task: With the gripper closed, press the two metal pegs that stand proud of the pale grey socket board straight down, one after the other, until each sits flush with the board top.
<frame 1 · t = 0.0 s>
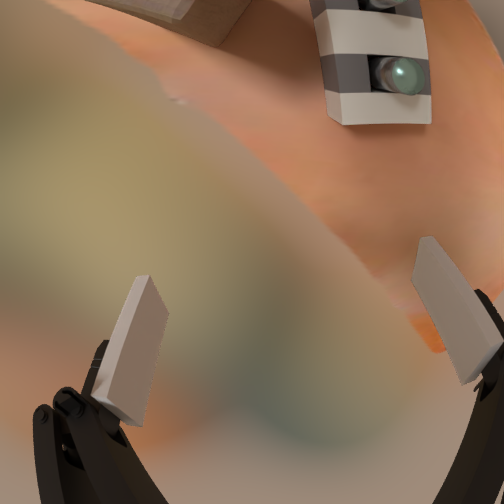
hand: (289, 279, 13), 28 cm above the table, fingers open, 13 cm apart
peg b: (393, 74, 23), point 9 cm above the table, slide at 5.0 cm
socket board: (360, 38, 27), on the table
wooden block: (204, 5, 25), on the table
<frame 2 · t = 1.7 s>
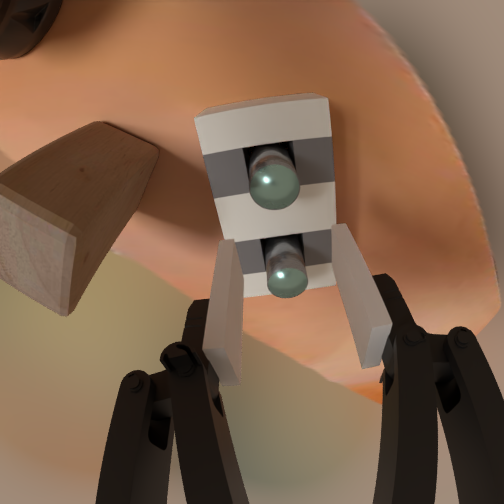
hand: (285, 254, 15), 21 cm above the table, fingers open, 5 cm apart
peg b: (284, 261, 30), point 9 cm above the table, slide at 5.0 cm
socket board: (273, 186, 34), on the table
peg a: (272, 172, 25), point 9 cm above the table, slide at 5.0 cm
wooden block: (117, 165, 33), on the table
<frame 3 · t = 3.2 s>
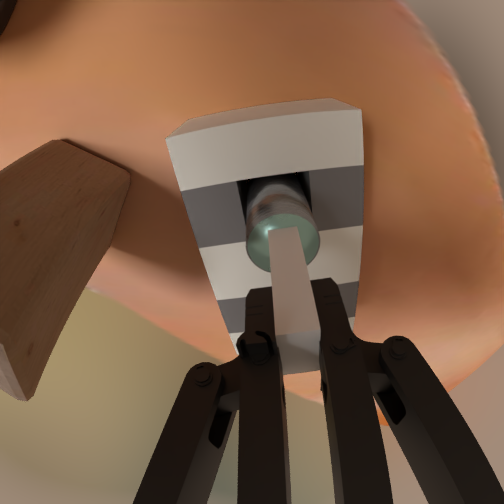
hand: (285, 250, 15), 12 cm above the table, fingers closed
socket board: (278, 220, 27), on the table
peg a: (278, 213, 18), point 8 cm above the table, slide at 4.4 cm, touching gripper
wooden block: (83, 192, 25), on the table
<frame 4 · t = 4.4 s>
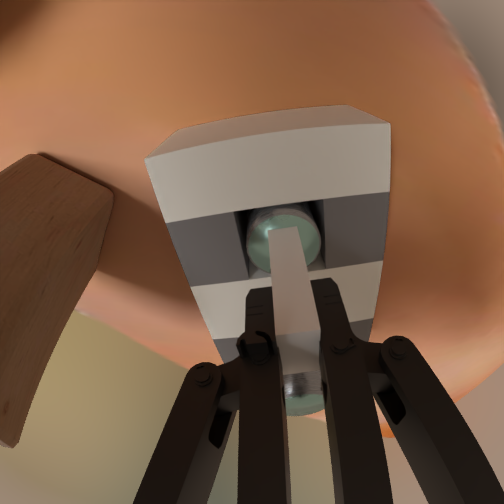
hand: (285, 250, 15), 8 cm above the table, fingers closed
peg b: (297, 364, 20), point 9 cm above the table, slide at 5.0 cm
socket board: (282, 244, 24), on the table
peg a: (279, 215, 18), point 4 cm above the table, slide at 0.4 cm, touching gripper
wooden block: (64, 211, 22), on the table
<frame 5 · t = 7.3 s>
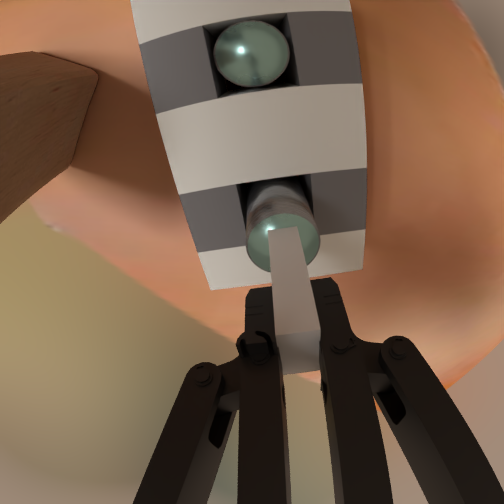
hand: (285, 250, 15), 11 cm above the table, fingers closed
peg b: (278, 213, 18), point 7 cm above the table, slide at 3.8 cm, touching gripper
socket board: (262, 117, 21), on the table
peg a: (251, 56, 15), point 4 cm above the table, slide at 0.4 cm
wooden block: (50, 106, 19), on the table
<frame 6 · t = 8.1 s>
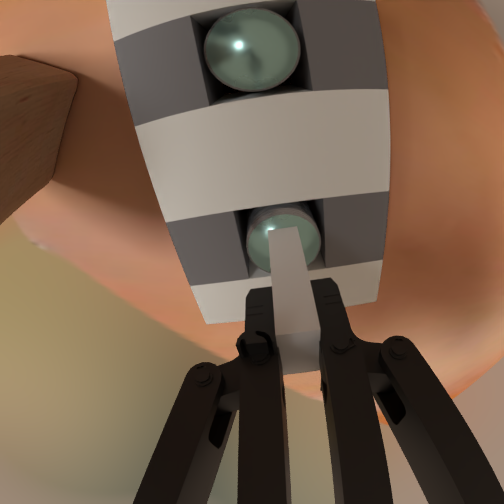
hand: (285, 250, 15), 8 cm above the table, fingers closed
peg b: (279, 214, 18), point 4 cm above the table, slide at 0.4 cm, touching gripper
socket board: (264, 125, 18), on the table
peg a: (252, 53, 12), point 4 cm above the table, slide at 0.4 cm
wooden block: (29, 114, 16), on the table
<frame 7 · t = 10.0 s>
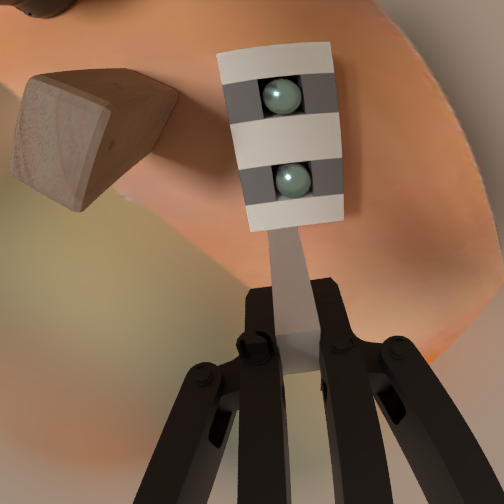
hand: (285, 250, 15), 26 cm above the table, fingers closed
peg b: (290, 172, 35), point 4 cm above the table, slide at 0.4 cm
socket board: (282, 129, 35), on the table
peg a: (279, 95, 29), point 4 cm above the table, slide at 0.4 cm
wooden block: (137, 109, 34), on the table
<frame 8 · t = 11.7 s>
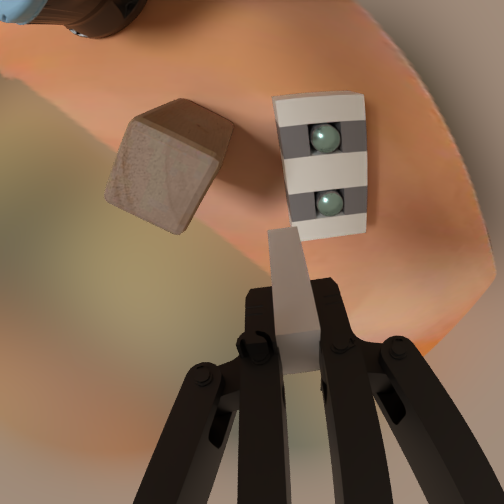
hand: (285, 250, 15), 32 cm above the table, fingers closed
peg b: (325, 195, 44), point 4 cm above the table, slide at 0.4 cm
socket board: (318, 157, 44), on the table
peg a: (320, 133, 38), point 4 cm above the table, slide at 0.4 cm
wooden block: (193, 135, 42), on the table
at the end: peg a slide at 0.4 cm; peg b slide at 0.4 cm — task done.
